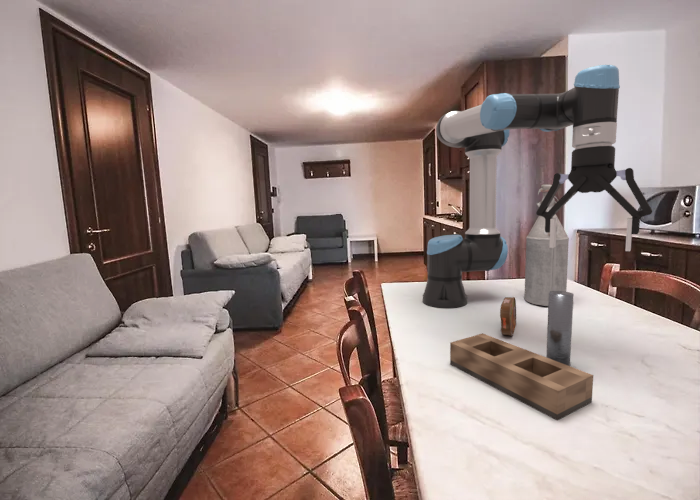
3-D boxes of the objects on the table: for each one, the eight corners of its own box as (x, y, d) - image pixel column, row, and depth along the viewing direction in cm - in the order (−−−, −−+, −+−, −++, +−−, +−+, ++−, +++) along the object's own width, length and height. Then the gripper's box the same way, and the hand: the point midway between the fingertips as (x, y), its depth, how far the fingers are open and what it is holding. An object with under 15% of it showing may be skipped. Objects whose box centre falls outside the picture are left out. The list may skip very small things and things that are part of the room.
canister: (529, 307, 117) (533, 184, 112) (520, 294, 134) (523, 186, 128) (573, 309, 113) (579, 182, 108) (559, 295, 130) (564, 184, 125)
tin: (511, 340, 91) (512, 308, 90) (498, 338, 93) (498, 307, 92) (517, 322, 104) (517, 294, 103) (505, 321, 106) (505, 293, 105)
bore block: (450, 364, 79) (450, 342, 78) (482, 353, 84) (482, 333, 83) (557, 420, 58) (558, 391, 58) (591, 402, 63) (593, 375, 62)
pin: (541, 365, 77) (544, 292, 75) (554, 360, 79) (557, 289, 77) (561, 373, 73) (565, 297, 71) (574, 368, 75) (578, 293, 73)
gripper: (523, 152, 80) (521, 247, 83) (674, 136, 64) (665, 254, 66) (532, 155, 86) (529, 244, 88) (673, 140, 69) (664, 249, 72)
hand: (588, 248), depth 77 cm, fingers open, 13 cm apart
